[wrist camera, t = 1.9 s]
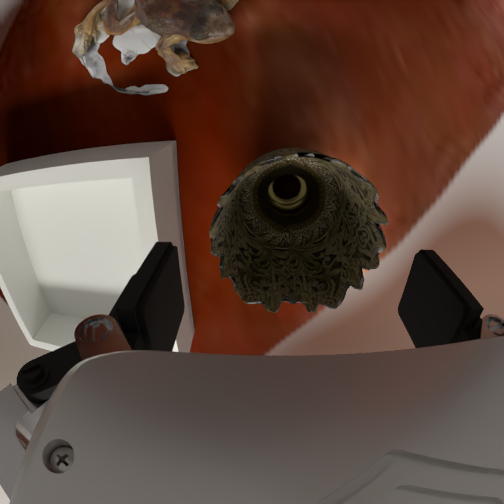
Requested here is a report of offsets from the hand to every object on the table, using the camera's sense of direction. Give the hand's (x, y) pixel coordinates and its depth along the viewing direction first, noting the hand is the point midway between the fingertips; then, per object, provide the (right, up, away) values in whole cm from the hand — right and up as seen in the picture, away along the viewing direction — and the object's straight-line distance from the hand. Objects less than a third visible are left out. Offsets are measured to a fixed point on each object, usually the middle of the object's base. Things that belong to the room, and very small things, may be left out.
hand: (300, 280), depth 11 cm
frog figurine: (-7, +16, +3) cm, 18 cm away
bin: (-15, +1, +11) cm, 18 cm away
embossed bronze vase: (0, +5, +8) cm, 10 cm away
